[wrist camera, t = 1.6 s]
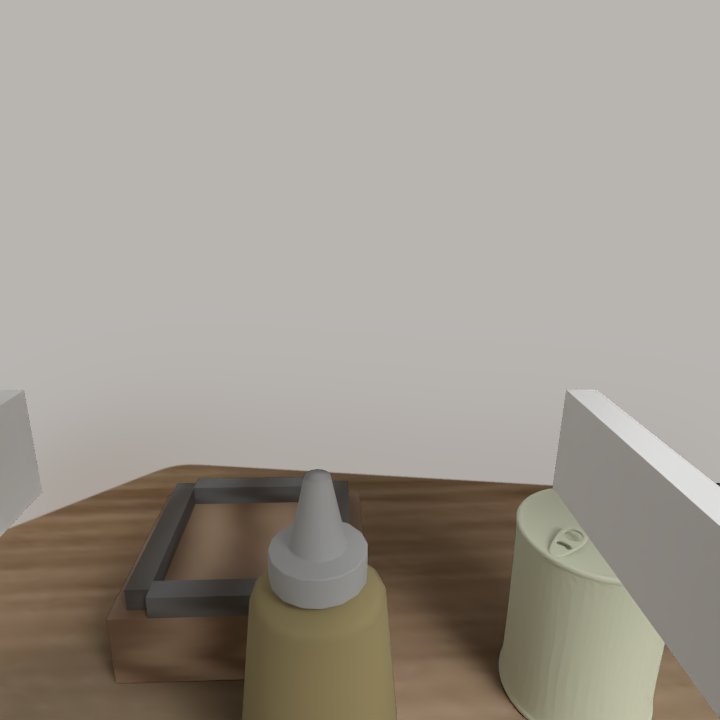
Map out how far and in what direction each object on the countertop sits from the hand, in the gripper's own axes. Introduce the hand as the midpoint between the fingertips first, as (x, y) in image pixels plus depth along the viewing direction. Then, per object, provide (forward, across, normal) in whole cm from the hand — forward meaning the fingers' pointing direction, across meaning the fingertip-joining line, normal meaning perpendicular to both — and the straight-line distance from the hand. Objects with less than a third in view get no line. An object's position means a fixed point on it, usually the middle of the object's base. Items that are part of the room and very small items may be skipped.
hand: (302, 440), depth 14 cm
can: (+15, +16, -24) cm, 33 cm away
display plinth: (+22, -5, -24) cm, 33 cm away
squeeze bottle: (+10, 0, -24) cm, 26 cm away
